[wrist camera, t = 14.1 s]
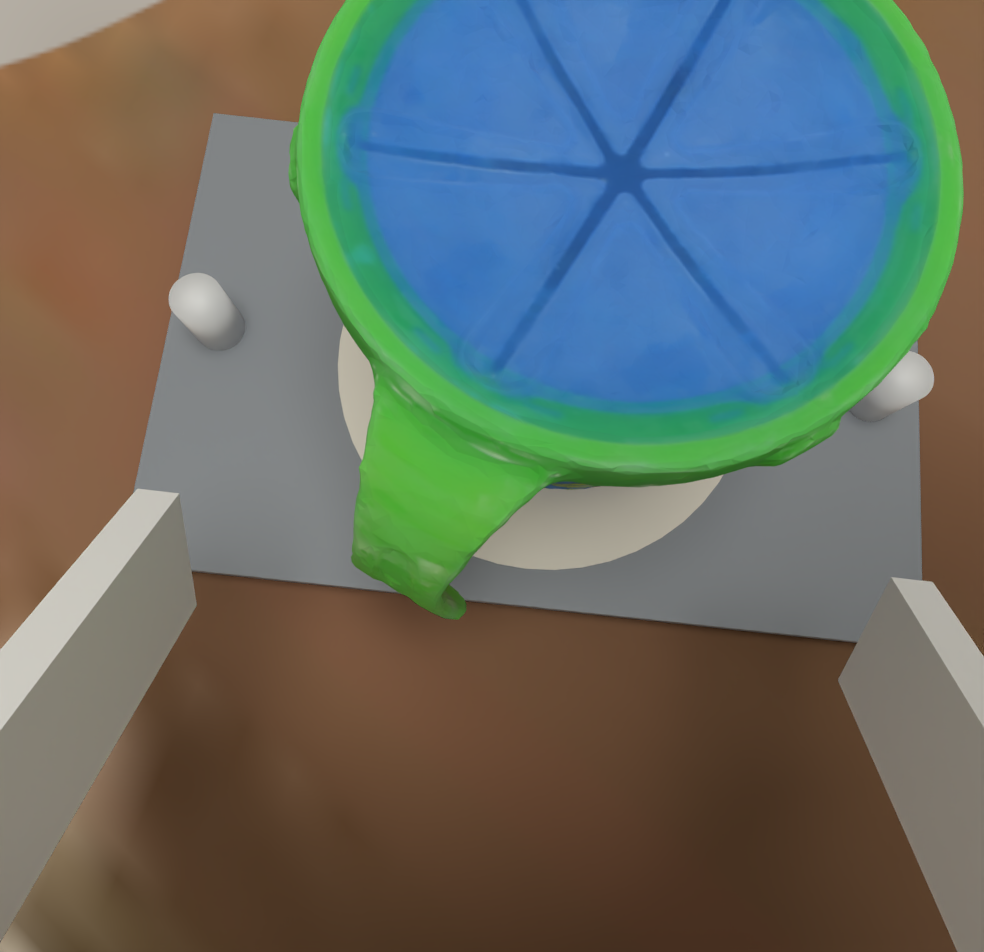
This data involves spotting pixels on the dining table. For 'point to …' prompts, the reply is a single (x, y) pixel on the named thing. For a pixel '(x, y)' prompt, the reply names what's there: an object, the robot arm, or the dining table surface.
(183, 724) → the dining table surface
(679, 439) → the snack cup
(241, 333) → the locating board
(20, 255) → the dining table surface
